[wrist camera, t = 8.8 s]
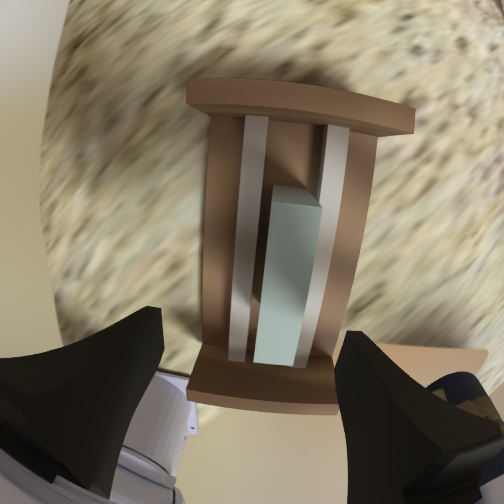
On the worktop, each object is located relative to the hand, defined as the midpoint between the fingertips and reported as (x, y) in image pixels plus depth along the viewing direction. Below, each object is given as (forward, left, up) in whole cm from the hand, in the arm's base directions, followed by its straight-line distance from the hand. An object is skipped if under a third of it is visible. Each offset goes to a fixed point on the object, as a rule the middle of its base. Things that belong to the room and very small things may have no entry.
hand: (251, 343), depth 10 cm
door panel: (+1, -1, -8) cm, 8 cm away
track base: (+1, -1, -9) cm, 9 cm away
